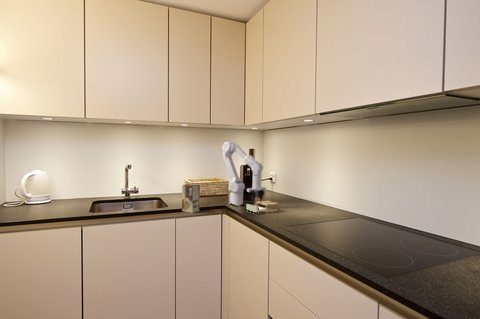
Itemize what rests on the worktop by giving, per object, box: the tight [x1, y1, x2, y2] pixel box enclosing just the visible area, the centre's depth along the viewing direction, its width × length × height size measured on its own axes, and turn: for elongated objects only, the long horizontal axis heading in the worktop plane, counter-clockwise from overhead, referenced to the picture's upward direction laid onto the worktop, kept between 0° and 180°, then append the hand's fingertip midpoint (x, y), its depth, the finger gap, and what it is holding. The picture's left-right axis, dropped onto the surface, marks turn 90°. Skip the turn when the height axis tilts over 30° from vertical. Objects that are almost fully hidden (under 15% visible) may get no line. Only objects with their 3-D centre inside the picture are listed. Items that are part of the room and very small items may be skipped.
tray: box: [245, 203, 266, 212], centre depth 170 cm, size 10×9×4 cm
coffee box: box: [181, 183, 201, 214], centre depth 169 cm, size 9×6×16 cm
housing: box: [256, 200, 279, 211], centre depth 175 cm, size 10×9×5 cm
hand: (256, 202), depth 182 cm, fingers closed on coaster, 5 cm apart
